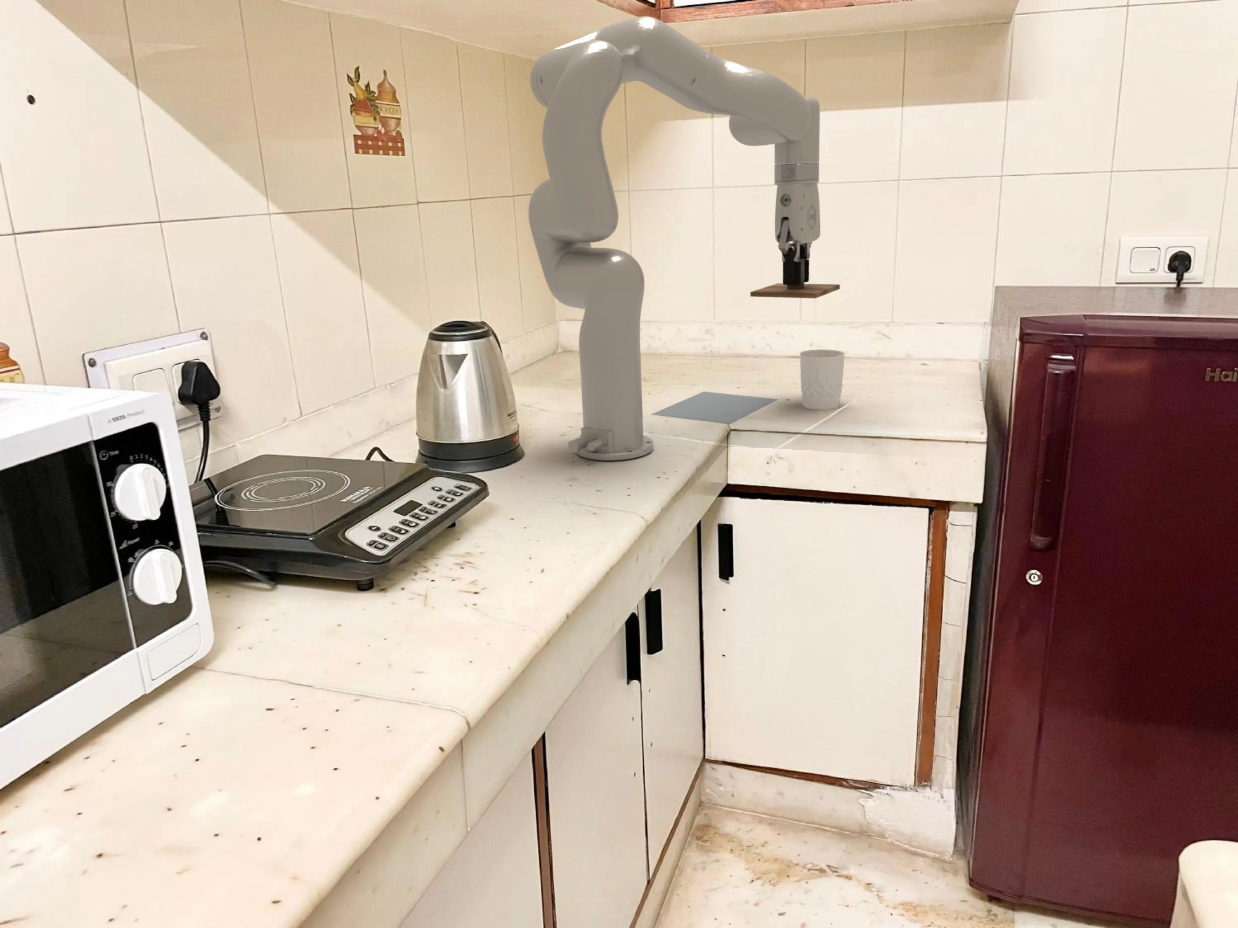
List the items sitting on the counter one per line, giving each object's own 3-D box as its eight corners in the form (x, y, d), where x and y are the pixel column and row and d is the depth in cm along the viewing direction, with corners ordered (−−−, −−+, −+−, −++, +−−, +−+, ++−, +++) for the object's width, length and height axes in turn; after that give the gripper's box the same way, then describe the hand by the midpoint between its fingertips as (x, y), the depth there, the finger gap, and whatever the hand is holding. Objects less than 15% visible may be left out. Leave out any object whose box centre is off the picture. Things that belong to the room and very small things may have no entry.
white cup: (793, 410, 167) (794, 356, 164) (806, 400, 174) (807, 348, 171) (836, 413, 164) (838, 358, 161) (847, 403, 170) (849, 350, 167)
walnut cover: (815, 298, 155) (815, 263, 153) (750, 296, 161) (750, 263, 160) (839, 289, 165) (840, 256, 163) (777, 287, 171) (777, 256, 169)
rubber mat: (729, 426, 158) (729, 423, 158) (651, 416, 167) (651, 414, 167) (777, 401, 174) (777, 399, 174) (703, 393, 183) (703, 391, 183)
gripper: (799, 175, 149) (798, 290, 154) (834, 172, 162) (832, 278, 167) (756, 177, 152) (757, 289, 158) (794, 174, 165) (793, 277, 171)
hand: (795, 282), depth 163 cm, fingers closed on walnut cover, 3 cm apart
